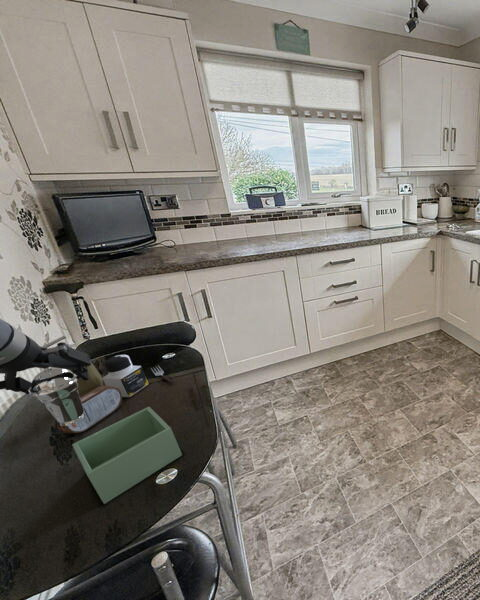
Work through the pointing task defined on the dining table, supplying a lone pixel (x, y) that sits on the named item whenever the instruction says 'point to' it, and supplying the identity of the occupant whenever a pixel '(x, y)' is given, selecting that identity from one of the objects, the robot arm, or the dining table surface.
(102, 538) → the dining table surface
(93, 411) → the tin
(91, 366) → the squeeze bottle
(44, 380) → the cup with straw
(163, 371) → the fork
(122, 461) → the bin
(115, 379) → the medicine bottle
